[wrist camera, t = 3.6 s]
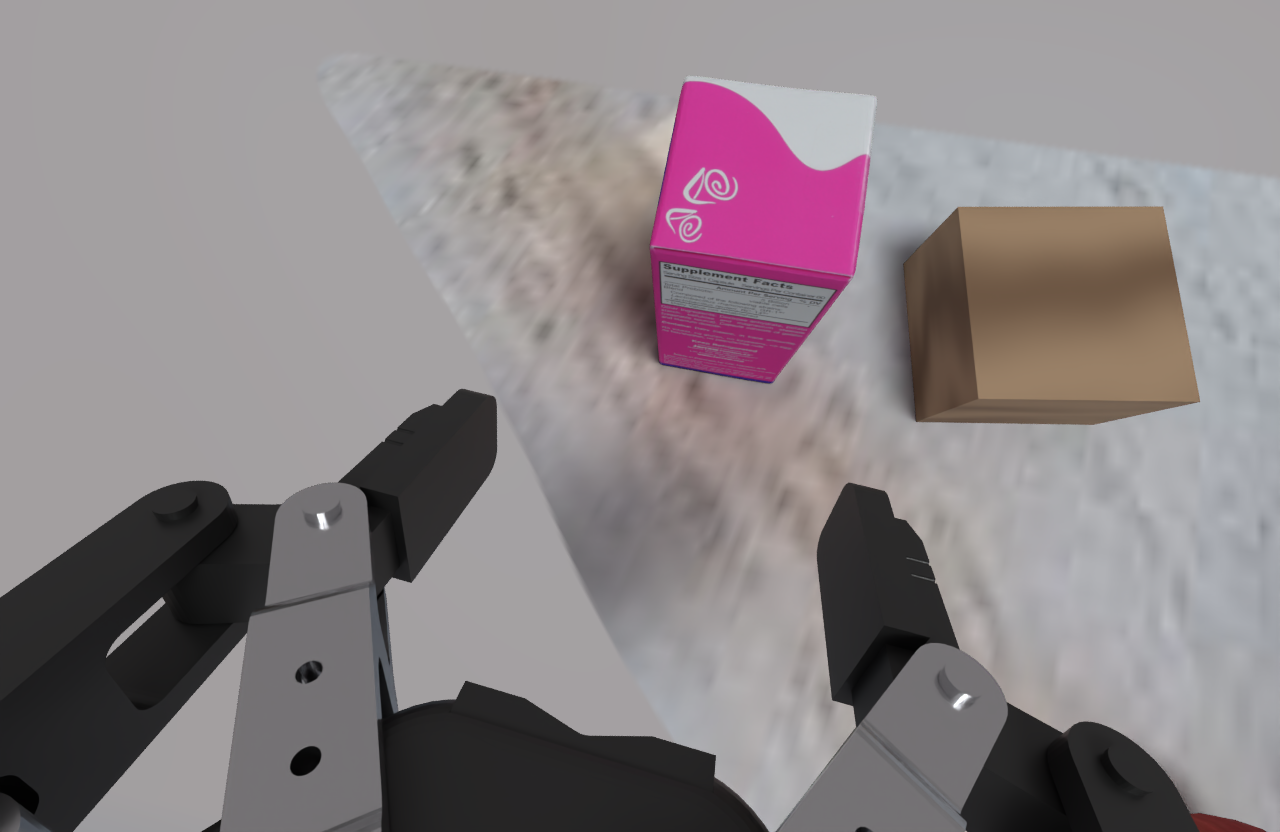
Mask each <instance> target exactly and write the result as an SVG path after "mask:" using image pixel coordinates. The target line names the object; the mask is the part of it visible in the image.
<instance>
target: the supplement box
mask: <svg viewBox="0 0 1280 832" xmlns="http://www.w3.org/2000/svg"><path fill="white" fill-rule="evenodd" d="M876 108H877V97H875V96H873V95H861V94H852V93H840V92H830V91H818V90H808V89H797V88H788V87H780V86H770V85H763V84H755V83H746V82H739V81H730V80H723V79H715V78H707V77H699V76H687V77H686V78H685V79H684V82H683V86H682V90H681V94H680V99H679V104H678V109H677V113H676V118H675V123H674V128H673V133H672V138H671V143H670V147H669V152H668V157H667V163H666V167H665V172H664V177H663V182H662V187H661V192H660V197H659V202H658V207H657V212H656V217H655V222H654V227H653V231H652V236H651V241H650V254H651V265H652V278H653V289H654V301H655V316H656V327H657V341H658V352H659V363H660V364H662V365H667V366H673V367H678V368H684V369H690V370H695V371H700V372H706V373H711V374H717V375H722V376H728V377H734V378H739V379H745V380H751V381H757V382H763V383H773V382H774V380H775V379H776V377H777V376H778V375H779V373H780V372H781V371H782V369H783V368H784V367H785V365H786V364H787V363H788V362H789V360H790V359H791V358H792V356H793V355H794V354H795V352H796V351H797V350H798V349H799V347H800V346H801V345H802V343H803V342H804V341H805V339H806V338H807V337H808V335H809V334H810V333H811V331H812V330H813V329H814V328H815V326H816V325H817V324H818V322H819V321H820V320H821V318H822V317H823V316H824V315H825V313H826V312H827V311H828V309H829V308H830V307H831V306H832V304H833V303H834V302H835V300H836V299H837V298H838V296H839V295H840V294H841V292H842V291H843V290H844V288H845V287H846V286H847V285H848V283H849V282H850V281H851V279H852V278H853V276H854V273H855V270H856V263H857V257H858V250H859V243H860V236H861V228H862V221H863V214H864V208H865V198H866V191H867V182H868V174H869V166H870V157H871V150H872V141H873V131H874V124H875V116H876Z"/></svg>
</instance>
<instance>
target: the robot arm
mask: <svg viewBox="0 0 1280 832" xmlns="http://www.w3.org/2000/svg"><path fill="white" fill-rule="evenodd" d="M496 453H497V404H496V399H495V397H493V396H490V395H486V394H482V393H478V392H474V391H470V390H466V389H460V390H458V391H457V392H456V393H455V394H454V395H453V396H452V397H451V398H450V399H449V400H448V401H447V402H446V403H445V404H444V405H443V406H439V405H436V404H433V405H431V406H429V407H426V408H424V409H422V410H420V411H418V412H415V413H413V414H412V415H411V416H410V417H408V418H407V419H406V420H405V421H404V422H403V423H402V424H401V425H400V426H399V427H398V429H397V431H396V430H395V431H393V432H392V433H391V434H390V435H389V436H388V437H387V438H386V439H385V442H381V443H380V444H379V445H378V446H377V447H376V448H375V449H374V450H373V451H371V452H370V453H369V454H368V455H367V456H366V457H365V458H364V459H363V460H362V461H361V462H360V463H358V464H357V465H356V466H355V467H354V468H353V469H352V470H351V471H350V472H349V473H347V474H346V475H345V476H344V477H343V478H342V479H341V480H340V481H339V482H338V483H324V484H319V485H314V486H311V487H308V488H306V489H304V490H301V491H299V492H297V493H295V494H294V495H292V496H291V497H289V498H288V499H287V500H286V501H285V502H284V503H283V504H280V505H279V504H277V505H264V504H262V505H259V504H258V505H257V504H254V505H253V504H232V501H231V499H230V496H229V494H228V492H227V490H226V489H225V488H224V487H223V486H221V485H219V484H217V483H214V482H209V481H188V482H181V483H177V484H173V485H169V486H166V487H163V488H160V489H158V490H156V491H153V492H151V493H150V494H147V495H145V496H144V497H142V498H141V499H139V500H138V501H136V502H135V503H134V504H132V505H131V506H129V507H128V508H127V509H125V510H124V511H122V512H121V513H119V514H118V515H116V516H115V517H114V518H112V519H111V520H109V521H108V522H107V523H105V524H104V525H102V526H101V527H99V528H98V529H97V530H96V531H94V532H92V533H91V534H90V535H88V536H87V537H85V538H84V539H83V540H81V541H80V542H78V543H77V544H75V545H74V546H73V547H71V548H70V549H69V550H67V551H66V552H64V553H63V554H61V555H60V556H59V557H57V558H56V559H54V560H53V561H51V562H50V563H49V564H47V565H46V566H44V567H43V568H42V569H40V570H39V571H37V572H36V573H34V574H33V575H32V576H30V577H29V578H28V579H26V580H25V581H23V582H22V583H20V584H19V585H18V586H16V587H15V588H13V589H12V590H10V591H9V592H8V593H6V594H5V595H3V596H2V597H1V598H0V832H73V831H74V830H75V829H76V827H77V826H78V825H79V824H80V823H81V821H83V819H84V818H85V817H86V816H87V815H88V814H89V813H90V811H91V810H92V809H93V808H94V807H95V805H97V803H98V802H99V801H100V800H101V799H102V798H103V796H104V795H105V794H106V793H107V792H108V791H109V790H110V788H111V787H112V786H113V785H114V784H115V783H116V782H117V781H118V779H119V778H120V777H121V776H122V775H123V774H124V773H125V771H126V770H127V769H128V768H129V767H130V766H131V765H132V763H133V762H134V761H135V760H136V759H137V758H138V757H139V755H140V754H141V753H142V752H143V751H144V749H146V747H147V746H148V745H149V744H150V743H151V742H152V741H153V739H154V738H155V737H156V736H157V735H158V734H159V733H160V731H161V730H162V729H163V728H164V727H165V726H166V724H167V723H168V722H169V721H170V720H171V719H172V718H173V717H174V716H175V714H176V713H177V712H178V711H179V710H180V709H181V707H182V706H183V705H184V704H185V703H186V702H187V701H188V700H189V698H190V697H191V696H192V695H193V694H194V693H195V691H196V690H197V689H198V688H199V687H200V686H201V685H202V684H203V682H204V681H205V680H206V679H207V678H208V677H209V675H210V674H211V673H212V672H213V671H214V670H215V669H216V667H217V666H218V665H219V664H220V663H221V662H222V661H223V660H224V658H225V657H226V656H227V655H228V654H229V653H230V652H231V650H232V649H233V648H234V647H235V646H236V644H238V642H239V641H240V640H241V639H242V638H243V637H244V636H245V634H246V633H247V638H246V645H245V653H244V660H243V667H242V674H241V682H240V689H239V696H238V703H237V711H236V718H235V725H234V732H233V740H232V747H231V754H230V762H229V769H228V776H227V783H226V791H225V798H224V805H223V812H222V819H221V820H219V821H218V822H216V823H215V824H213V825H212V826H210V827H208V828H207V829H205V830H203V831H202V832H769V831H768V829H767V828H766V826H765V825H764V824H763V822H762V821H761V820H760V819H759V817H758V816H757V815H756V814H755V812H754V811H753V810H752V809H751V808H750V807H749V806H748V804H747V803H746V802H745V801H744V800H743V799H742V798H741V797H740V796H739V795H738V794H736V793H735V792H734V791H733V790H731V789H730V788H729V787H728V786H727V785H725V784H724V783H723V782H721V781H720V780H718V779H716V778H715V777H714V774H715V761H716V755H713V754H709V753H706V752H703V751H699V750H696V749H692V748H689V747H686V746H682V745H679V744H676V743H672V742H669V741H666V740H662V739H659V738H656V737H652V736H651V737H650V736H649V737H648V736H587V735H582V734H580V733H578V732H576V731H574V730H573V729H571V728H570V727H568V726H567V725H565V724H563V723H562V722H560V721H559V720H558V719H556V718H554V717H553V716H551V715H550V714H548V713H547V712H545V711H543V710H542V709H540V708H539V707H537V706H536V705H534V704H533V703H531V702H530V701H528V700H527V699H525V698H522V697H518V696H515V695H512V694H508V693H505V692H502V691H498V690H494V689H492V688H488V687H485V686H481V685H478V684H475V683H471V682H468V681H465V683H464V685H463V687H462V689H461V691H460V693H459V695H458V697H457V699H456V700H441V701H432V702H428V703H424V704H420V705H415V706H412V707H410V708H407V709H404V710H401V711H399V712H398V705H397V698H396V692H395V685H394V676H393V667H392V656H391V644H390V633H389V622H388V612H387V600H386V594H385V588H384V587H385V585H386V584H387V583H388V581H389V580H390V579H391V578H392V577H393V578H396V579H400V580H403V581H407V582H410V583H412V581H413V580H414V579H415V577H416V576H417V575H418V573H419V572H420V570H421V569H422V568H423V566H424V565H425V563H426V562H427V561H428V559H429V558H430V556H431V555H432V554H433V552H434V551H435V549H436V548H437V547H438V545H439V544H440V542H441V541H442V540H443V538H444V537H445V536H446V534H447V533H448V531H449V530H450V529H451V527H452V526H453V524H454V523H455V522H456V520H457V519H458V517H459V516H460V515H461V513H462V512H463V510H464V509H465V508H466V506H467V505H468V504H469V502H470V501H471V499H472V498H473V497H474V495H475V494H476V492H477V491H478V490H479V488H480V487H481V485H482V484H483V483H484V481H485V480H486V478H487V477H488V476H489V474H490V472H491V470H492V468H493V465H494V462H495V459H496ZM817 564H818V574H819V583H820V592H821V601H822V611H823V620H824V629H825V638H826V648H827V657H828V666H829V676H830V685H831V694H832V700H833V701H837V702H841V703H844V704H848V705H851V706H853V707H854V714H855V722H856V728H855V729H854V730H853V732H852V733H851V734H850V736H849V737H848V738H847V740H846V741H845V742H844V743H843V745H842V746H841V747H840V749H839V750H838V751H837V753H836V754H835V755H834V756H833V758H832V759H831V760H830V762H829V763H828V764H827V766H826V767H825V768H824V769H823V771H822V772H821V773H820V775H819V776H818V777H817V779H816V780H815V781H814V782H813V784H812V785H811V786H810V788H809V789H808V790H807V792H806V793H805V794H804V795H803V797H802V798H801V799H800V801H799V802H798V803H797V804H796V806H795V807H794V808H793V810H792V811H791V812H790V813H789V815H788V816H787V817H786V819H785V820H784V821H783V822H782V824H781V825H780V826H779V828H778V829H777V830H776V831H775V832H965V830H966V831H967V832H1200V831H1199V830H1198V828H1197V826H1196V824H1195V822H1194V820H1193V818H1192V817H1191V815H1190V813H1189V811H1188V809H1187V807H1186V805H1185V803H1184V802H1183V800H1182V798H1181V796H1180V794H1179V792H1178V791H1177V789H1176V787H1175V786H1174V784H1173V782H1172V781H1171V779H1170V778H1169V777H1168V775H1167V774H1166V773H1165V771H1164V770H1163V769H1162V768H1161V767H1160V766H1159V765H1158V763H1157V762H1156V761H1155V760H1154V759H1153V758H1152V757H1151V756H1150V755H1149V754H1148V753H1146V752H1145V751H1144V750H1143V749H1142V748H1141V747H1139V746H1138V745H1137V744H1136V743H1134V742H1133V741H1132V740H1130V739H1129V738H1127V737H1126V736H1124V735H1122V734H1121V733H1119V732H1117V731H1115V730H1113V729H1111V728H1109V727H1107V726H1104V725H1102V724H1098V723H1094V722H1079V723H1077V724H1075V725H1073V726H1072V727H1071V728H1069V729H1068V730H1067V731H1066V732H1064V733H1062V732H1060V731H1058V730H1056V729H1054V728H1053V727H1051V726H1049V725H1047V724H1045V723H1043V722H1042V721H1040V720H1038V719H1036V718H1034V717H1032V716H1031V715H1029V714H1027V713H1025V712H1023V711H1022V710H1020V709H1018V708H1016V707H1014V706H1012V705H1011V704H1009V703H1007V702H1006V699H1005V696H1004V694H1003V692H1002V690H1001V688H1000V686H999V685H998V683H997V682H996V680H995V679H994V678H993V676H992V675H991V674H990V673H989V672H988V671H987V670H986V669H985V668H984V667H983V666H982V665H981V664H980V663H979V662H978V661H976V660H975V659H974V658H972V657H971V656H969V655H968V654H966V653H965V652H963V651H961V650H960V649H959V646H958V643H957V640H956V638H955V635H954V632H953V629H952V626H951V623H950V620H949V617H948V614H947V611H946V609H945V606H944V603H943V600H942V597H941V594H940V591H939V588H938V585H937V584H936V583H935V577H934V574H933V571H932V568H931V566H929V559H928V556H927V553H926V551H925V548H924V545H923V542H922V540H921V539H920V538H919V536H918V535H917V534H916V533H915V531H914V530H913V529H912V528H911V526H910V525H909V524H908V523H907V521H906V520H901V519H897V518H894V514H893V511H892V508H891V504H890V501H889V498H888V495H887V493H886V492H885V491H882V490H878V489H874V488H870V487H866V486H862V485H857V484H853V483H847V484H846V485H845V487H844V488H843V490H842V492H841V494H840V496H839V498H838V500H837V502H836V504H835V506H834V508H833V510H832V512H831V514H830V516H829V518H828V520H827V522H826V524H825V526H824V528H823V530H822V532H821V535H820V538H819V542H818V548H817ZM161 597H163V599H164V601H165V604H164V605H163V606H162V607H161V608H160V609H159V610H158V611H156V612H155V613H154V614H153V615H152V616H151V617H150V618H149V619H148V620H147V621H146V622H145V623H143V624H142V625H141V626H140V627H139V628H138V629H137V630H136V631H135V632H134V633H133V634H132V635H130V636H129V637H128V638H127V639H126V640H125V641H124V642H123V643H122V644H121V645H120V646H119V647H117V648H116V649H115V650H114V651H113V652H112V653H111V654H110V655H109V656H108V657H107V658H106V656H107V653H108V651H109V649H110V647H111V646H112V644H113V643H114V641H115V640H116V639H117V638H118V637H119V636H120V635H121V634H122V633H123V632H124V631H125V630H126V629H127V628H128V627H129V626H130V625H132V623H134V622H135V621H136V620H137V619H138V618H139V617H140V616H141V615H142V614H144V613H145V612H146V611H147V610H148V609H149V608H150V607H151V606H152V605H154V604H155V603H156V602H157V601H158V600H159V599H160V598H161Z"/></svg>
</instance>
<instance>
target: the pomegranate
mask: <svg viewBox="0 0 1280 832" xmlns="http://www.w3.org/2000/svg"><path fill="white" fill-rule="evenodd" d="M1190 815H1191V817H1192V818H1193V820H1194V822H1195V824H1196V826H1197V828H1198V830H1199V831H1200V832H1266V831H1264V830H1263V829H1260V828H1257V827H1254V826H1251V825H1248V824H1245V823H1242V822H1239V821H1236V820H1233V819H1227V818H1222V817H1217V816H1212V815H1207V814H1202V813H1196V814H1190Z"/></svg>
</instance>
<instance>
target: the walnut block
mask: <svg viewBox="0 0 1280 832" xmlns="http://www.w3.org/2000/svg"><path fill="white" fill-rule="evenodd" d="M903 265H904V278H905V290H906V302H907V314H908V327H909V339H910V351H911V363H912V376H913V388H914V400H915V413H916V422H954V423H1018V424H1083V425H1094V424H1099V423H1103V422H1108V421H1113V420H1117V419H1122V418H1127V417H1131V416H1136V415H1141V414H1145V413H1150V412H1155V411H1159V410H1164V409H1169V408H1173V407H1178V406H1183V405H1187V404H1192V403H1197V402H1200V398H1199V393H1198V388H1197V382H1196V377H1195V372H1194V367H1193V361H1192V356H1191V351H1190V346H1189V340H1188V335H1187V330H1186V325H1185V320H1184V314H1183V309H1182V304H1181V299H1180V293H1179V288H1178V283H1177V278H1176V272H1175V267H1174V262H1173V257H1172V252H1171V246H1170V241H1169V236H1168V231H1167V225H1166V220H1165V215H1164V210H1163V207H958V208H957V209H956V210H955V211H954V212H953V213H952V214H951V215H950V216H949V217H948V218H947V219H946V220H945V221H944V222H943V223H942V224H941V225H940V226H939V227H938V228H937V229H936V230H935V232H934V233H933V234H932V235H931V236H930V237H929V238H928V239H927V240H926V241H925V242H924V243H923V244H922V245H921V246H920V247H919V248H918V249H917V250H916V251H915V252H914V253H913V254H912V255H911V256H910V258H909V259H908V260H907V261H906V262H905V263H904V264H903Z"/></svg>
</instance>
